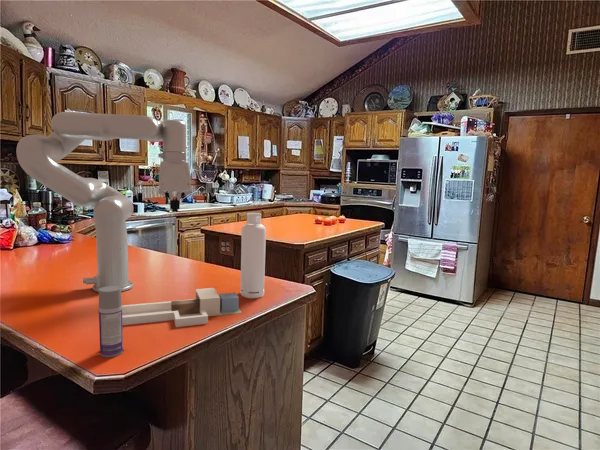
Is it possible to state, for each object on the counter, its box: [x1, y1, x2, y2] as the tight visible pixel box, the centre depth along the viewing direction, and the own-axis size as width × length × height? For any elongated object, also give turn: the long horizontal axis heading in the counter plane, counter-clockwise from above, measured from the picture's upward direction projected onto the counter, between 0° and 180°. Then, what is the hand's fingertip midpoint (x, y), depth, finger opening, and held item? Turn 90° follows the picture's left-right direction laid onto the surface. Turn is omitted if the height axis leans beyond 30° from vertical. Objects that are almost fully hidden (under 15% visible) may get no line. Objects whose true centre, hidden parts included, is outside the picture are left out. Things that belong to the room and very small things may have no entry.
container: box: [98, 286, 124, 358], centre depth 88 cm, size 5×5×15 cm
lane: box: [122, 287, 243, 328], centre depth 111 cm, size 33×15×6 cm, turn 113°
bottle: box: [239, 212, 267, 299], centre depth 132 cm, size 8×8×28 cm
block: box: [218, 292, 240, 312], centre depth 118 cm, size 5×5×4 cm
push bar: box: [170, 298, 222, 315], centre depth 115 cm, size 14×3×3 cm, turn 111°
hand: (174, 211), depth 135 cm, fingers closed
